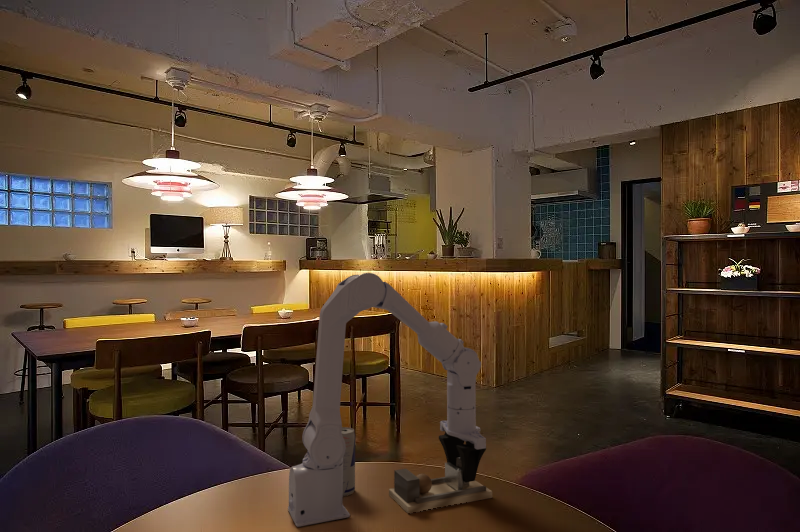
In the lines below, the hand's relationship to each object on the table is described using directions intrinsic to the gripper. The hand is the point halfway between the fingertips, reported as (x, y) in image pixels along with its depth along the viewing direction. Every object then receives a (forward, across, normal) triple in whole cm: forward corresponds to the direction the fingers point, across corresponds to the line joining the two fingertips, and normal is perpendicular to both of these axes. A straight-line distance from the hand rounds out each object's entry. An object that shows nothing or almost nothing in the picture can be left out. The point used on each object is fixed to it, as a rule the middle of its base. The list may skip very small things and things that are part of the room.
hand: (461, 476), depth 98 cm
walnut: (+2, 0, +9) cm, 9 cm away
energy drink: (+3, +10, +22) cm, 24 cm away
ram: (+2, 0, +1) cm, 2 cm away
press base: (+3, 0, +5) cm, 6 cm away
